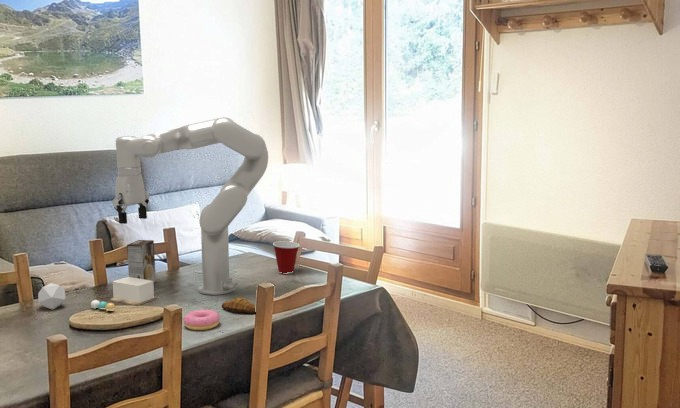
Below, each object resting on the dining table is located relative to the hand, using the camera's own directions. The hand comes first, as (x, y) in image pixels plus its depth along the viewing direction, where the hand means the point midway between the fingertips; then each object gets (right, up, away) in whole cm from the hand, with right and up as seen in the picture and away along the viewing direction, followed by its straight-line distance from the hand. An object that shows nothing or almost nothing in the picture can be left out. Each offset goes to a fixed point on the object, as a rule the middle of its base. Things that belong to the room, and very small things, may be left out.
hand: (133, 220), depth 231 cm
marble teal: (-6, -29, -14) cm, 33 cm away
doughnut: (+30, -32, -29) cm, 52 cm away
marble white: (-9, -29, -12) cm, 32 cm away
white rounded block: (+1, -27, -2) cm, 27 cm away
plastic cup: (+51, -22, +33) cm, 64 cm away
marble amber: (-3, -29, -15) cm, 33 cm away
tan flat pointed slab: (+1, -27, -2) cm, 27 cm away
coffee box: (-2, -24, +17) cm, 30 cm away
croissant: (+40, -29, -15) cm, 52 cm away
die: (-24, -29, -10) cm, 39 cm away
